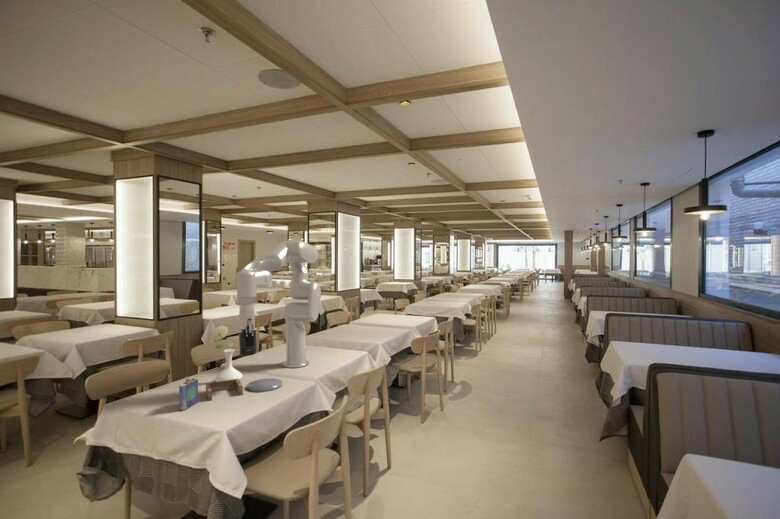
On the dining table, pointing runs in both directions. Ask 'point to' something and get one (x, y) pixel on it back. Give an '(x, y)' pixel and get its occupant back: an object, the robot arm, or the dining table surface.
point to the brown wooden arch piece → (223, 387)
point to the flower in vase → (229, 371)
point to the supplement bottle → (247, 349)
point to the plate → (264, 385)
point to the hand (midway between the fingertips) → (248, 343)
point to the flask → (188, 393)
